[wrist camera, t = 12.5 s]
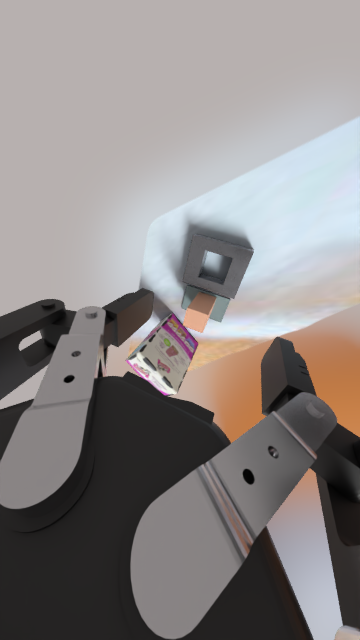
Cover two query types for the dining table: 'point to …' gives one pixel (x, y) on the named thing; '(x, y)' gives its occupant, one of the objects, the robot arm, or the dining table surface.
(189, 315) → the plug
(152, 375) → the candy bar box
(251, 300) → the dining table surface
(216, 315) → the mat
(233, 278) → the grey socket frame
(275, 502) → the robot arm
